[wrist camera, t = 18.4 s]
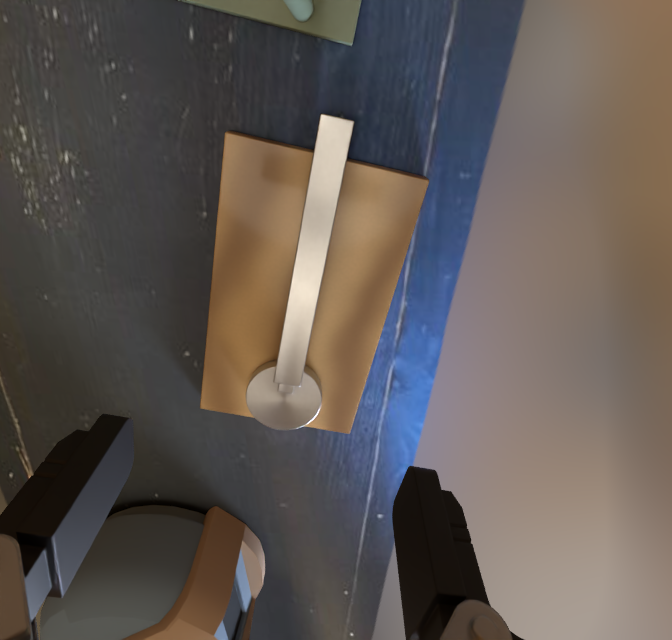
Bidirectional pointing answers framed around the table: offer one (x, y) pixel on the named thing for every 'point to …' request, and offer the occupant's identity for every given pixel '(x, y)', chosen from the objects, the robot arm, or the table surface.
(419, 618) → the robot arm
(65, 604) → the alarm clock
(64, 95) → the table surface
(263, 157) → the board
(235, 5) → the rack
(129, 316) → the table surface
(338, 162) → the ladle
